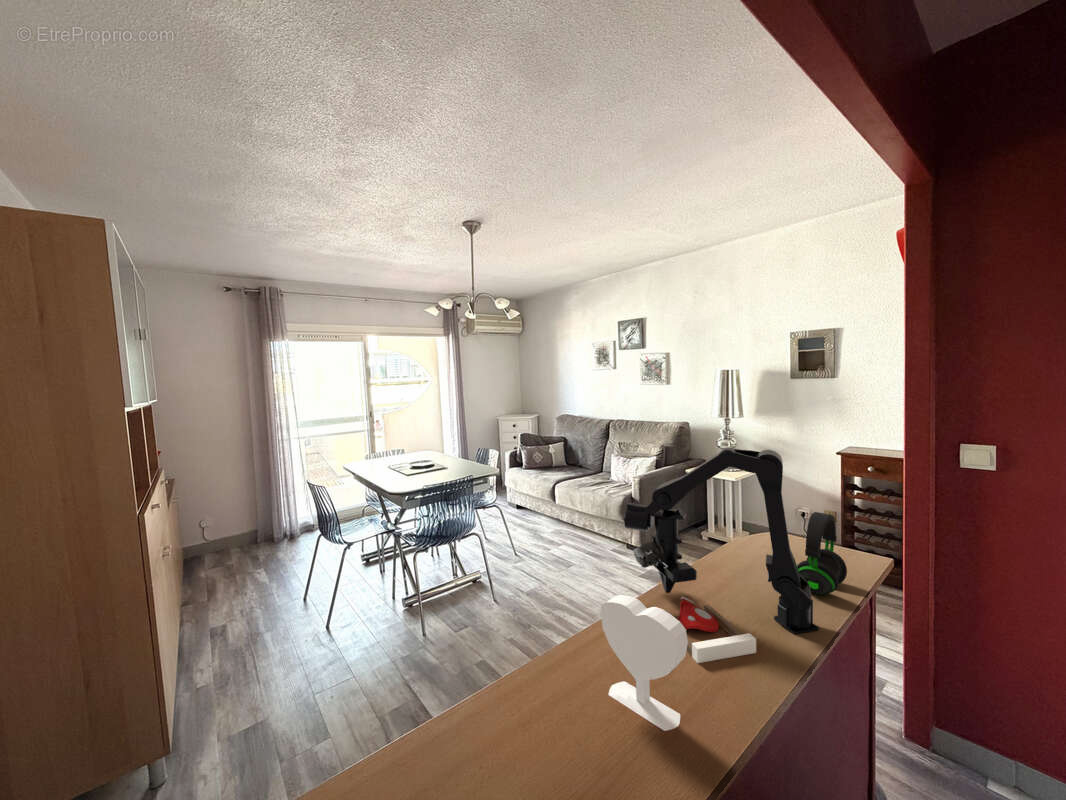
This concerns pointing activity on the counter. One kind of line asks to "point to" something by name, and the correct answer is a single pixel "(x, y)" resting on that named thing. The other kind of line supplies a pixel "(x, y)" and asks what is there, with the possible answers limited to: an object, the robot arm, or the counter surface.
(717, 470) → the robot arm
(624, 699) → the heart sculpture
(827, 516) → the headphones
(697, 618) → the tracker holder
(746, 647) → the guide channel
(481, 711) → the counter surface
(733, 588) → the counter surface
